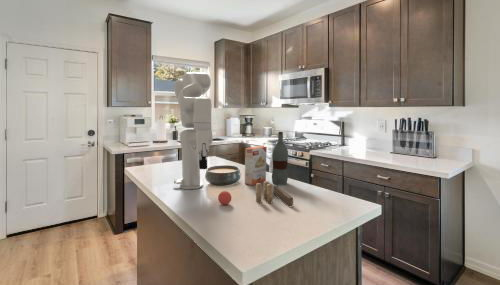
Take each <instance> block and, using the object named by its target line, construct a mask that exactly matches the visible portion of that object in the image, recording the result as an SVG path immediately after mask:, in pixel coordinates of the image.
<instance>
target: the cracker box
mask: <svg viewBox="0 0 500 285" xmlns="http://www.w3.org/2000/svg"><path fill="white" fill-rule="evenodd" d="M267 151H268V148H267V146H263V145H258V146H257V145H256V146H251V147H247V148H246V147H245V150H244V156H245V157H244V184H245V185H249V186H254V185H255V186H256V184H257V183H262V182H263V183H264V181H266V180H267V179H266V178H267V153H268V152H267Z"/></svg>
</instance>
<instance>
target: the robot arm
mask: <svg viewBox="0 0 500 285" xmlns="http://www.w3.org/2000/svg"><path fill="white" fill-rule="evenodd" d="M211 80H212V79H211V77H210V75H209V74H208V73H206V72H195V71H192V72H191V71H190V72H189V71H188V72H185V73H184V74H183V75H182V77H181V79H180V78H179V79H177V80H175V81H174V85H173V87H174V88H173V89H174V94H175V97H176V99H177V105H178V108H179V112H180V124H181V126H182V127H183V128H185V129H183V130H182V131H180V134H179V141H180V147H181V168H182V169H181V171H182V174H181V175H182V177H181V178H179V179H174V180H173V182H174V184H176V185H179V188H180V189H184V190H197V189H201V188H202V187H203V186H204V183H203V182H201V170H207V169H208V157H207V156H208V154H209V152H210V146H212V144H213V139H214V138H213V129H212V106H213V105H212V100H211V98H210V97H204V96H203V95H205V94H206V93H208V91H209V89H210V87H211V85H212V84H211ZM202 96H203V97H202Z"/></svg>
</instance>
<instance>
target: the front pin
mask: <svg viewBox="0 0 500 285" xmlns="http://www.w3.org/2000/svg"><path fill="white" fill-rule="evenodd" d="M255 190H256V192H255V202H256V203H261V202H262V182H260V183H257V184H255Z"/></svg>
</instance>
